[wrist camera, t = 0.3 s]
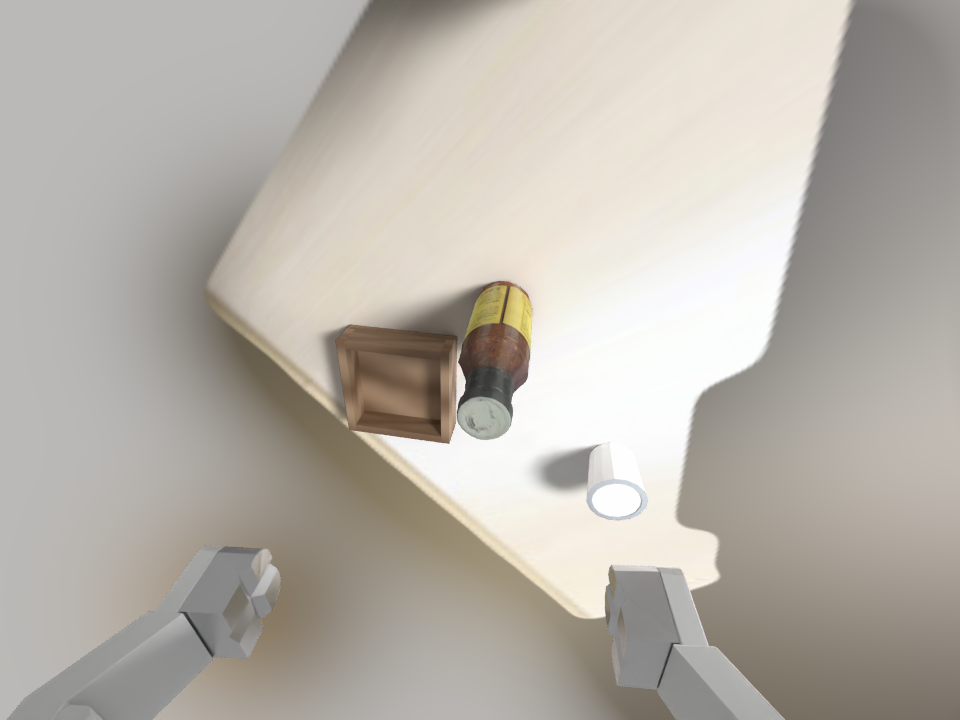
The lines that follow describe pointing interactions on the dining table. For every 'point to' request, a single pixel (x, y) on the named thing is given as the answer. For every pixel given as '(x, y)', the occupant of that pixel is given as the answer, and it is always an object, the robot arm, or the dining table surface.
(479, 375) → the sauce bottle
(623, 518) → the white cup
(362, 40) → the dining table surface
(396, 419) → the brown wooden tray
